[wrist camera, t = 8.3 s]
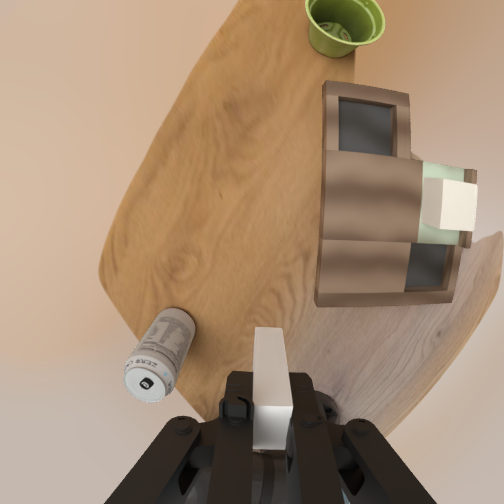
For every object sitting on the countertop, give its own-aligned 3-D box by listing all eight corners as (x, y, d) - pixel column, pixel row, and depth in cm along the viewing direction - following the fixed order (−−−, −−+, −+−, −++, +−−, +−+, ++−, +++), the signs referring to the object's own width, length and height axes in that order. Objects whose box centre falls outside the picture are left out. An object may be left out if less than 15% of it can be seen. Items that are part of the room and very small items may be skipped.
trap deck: (443, 296, 41) (458, 307, 37) (313, 299, 41) (319, 313, 37) (458, 112, 34) (475, 108, 30) (322, 85, 34) (329, 75, 30)
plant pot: (344, 8, 31) (360, -22, 23) (374, 60, 33) (399, 38, 25) (285, 21, 32) (291, -11, 24) (315, 76, 34) (329, 52, 26)
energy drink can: (149, 322, 43) (109, 381, 29) (173, 297, 42) (135, 353, 27) (180, 348, 44) (151, 414, 29) (205, 324, 43) (182, 390, 28)
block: (453, 224, 36) (473, 231, 31) (420, 222, 36) (439, 228, 31) (456, 182, 34) (477, 184, 29) (423, 177, 34) (443, 178, 30)
